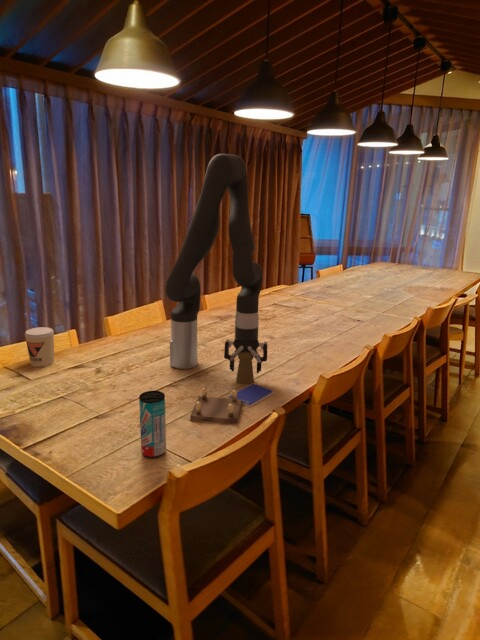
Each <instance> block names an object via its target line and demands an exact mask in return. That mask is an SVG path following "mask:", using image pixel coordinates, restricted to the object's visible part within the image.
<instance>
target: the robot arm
mask: <svg viewBox="0 0 480 640" xmlns="http://www.w3.org/2000/svg"><path fill="white" fill-rule="evenodd" d="M226 191H227V192H228V195H229V201H230V202H229V204H230V207H229V208H230V209H229V216H228V227H227V228H228V235H229V241H230V246H231V250H232V259H231V261H232V264H231V265H232V266H231V267H232V275H233V278H234V281H235V282H236V284H237V285H239V286H240V287H241V289H240V291H239V293H238V294H237V296H236V304H235V306H236V309H235V310H236V311H235V318H234V340H229V339H226V340H225V342H224V350H223V351H224V352H223V353H224V354H223V358H224V359H225V360H228V361H229V370H231V372H234V371H235V362H236V361H235V359H236V357H238V354H239V353H240V352H250V353H251V354H252V355H253V359H255V360H256V374H259V373H260V372H261V371H262V363H263V362H267V361H268V342H267V341H264V342H259V321H260V318H259V317H260V316H259V305H260V304H259V298H260V293H261V289H262V284H263V279H264V273H263V268H262V266H261V265H260V264H259V263H258V262H256V261H253V253H254V251H255V241H254V236H253V235H254V234H253V231H252V225H251V219H250V210H249V195H248V193H249V191H248V171H247V165H246V162H245V161H244V159H243V158H242V156H240V155H237V154H234V153H233V154H231V153H218V154H216V155H214V156H213V157H212V158H211V159H210V161H209V162H208V165H207V168H206V172H205V175H204V180H203V183H202V188H201V191H200V195H199V198H198V199H197V200H198V201H197V204H196V205H195V209H194V213H193V215H192V217H191V220H190V222H189V226H188V229H187V230H186V234H185V237H184V240H183V242H182V246H181V248H180V251H179V252H178V253H179V254H178V256H177V259H176V260H175V263H174V265H173V267H172V269H171V271H170V273H169V275H168V277H167V280H166V282H165V287H164V288H165V291H164V292H165V294H166V297H167V299H168V300H169V301H171V302H173V303H177V304H176V306H175V307H173V309H171V312H170V339H169V366H170V367H174V368H176V369H181V370H187V369H194V368H195V367H196V366H198V315H199V311H200V305H201V284H200V283H201V282H200V280H199V277H198V276H197V274H195V273H194V271H195V270H196V268H197V266H199V264H200V263H201V262H202V261H203V260H204V258H205V257H206V256H207V255H208V253H210V251H211V249H212V248H213V246H214V244H215V241H216V238H217V236H218V233H219V230H220V225H221V224H220V220H221V219H220V208H221V202H222V200H223V197H224V195H225V193H226ZM232 346H233V347H234V348H235V350H234V351H233V352H232V354H230V348H231V347H232ZM259 347H260V350H262V353H263V354H262V356H261V355H260V354H259V351H258V348H259Z"/></svg>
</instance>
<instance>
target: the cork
mask: <svg viewBox="0 0 480 640" xmlns="http://www.w3.org/2000/svg"><path fill="white" fill-rule="evenodd" d="M237 359H238V367H237V373H236V379H235V382H236V384H238V385H242V386H250V385H252V384H255V383H254V382H255V378H254V377H255V376H254V370H253V368H254V367H253V359H254V357H253V355H252V354H251V353H250V352H240V353H239V354H238V355H237Z"/></svg>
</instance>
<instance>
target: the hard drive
mask: <svg viewBox="0 0 480 640" xmlns="http://www.w3.org/2000/svg"><path fill="white" fill-rule="evenodd" d="M272 394H274V391H273V390H272V389H270V388H267V387H264V386H261V385H258V384H256V383H253V384H250V385H247V386H246V387H244V388H242V389H240V390H239V391H238V390H237V399H242V404H241V405H243V406H246V407H248V408H250V407H253V406H254V405H256V404H258V403H259V402H261V401H263V400H265V399H266V398H268V397H270V396H272ZM227 398H229V399H232V394H230V395H229V396H228V397H227Z"/></svg>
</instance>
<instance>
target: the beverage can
mask: <svg viewBox="0 0 480 640" xmlns="http://www.w3.org/2000/svg"><path fill="white" fill-rule="evenodd" d="M138 398H139V399H138V401H139V425H140V426H139V429H140V450H141V454H142V456H144V457H145V458H147V459H158V458H160V457H162V456H163V455H165V454H166V451H167V438H166V437H167V433H166V432H167V430H166V427H167V425H166V394H165V393H164V392H162V391H160V390H148V391H144V392H142V393H140V394H139V396H138Z"/></svg>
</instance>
